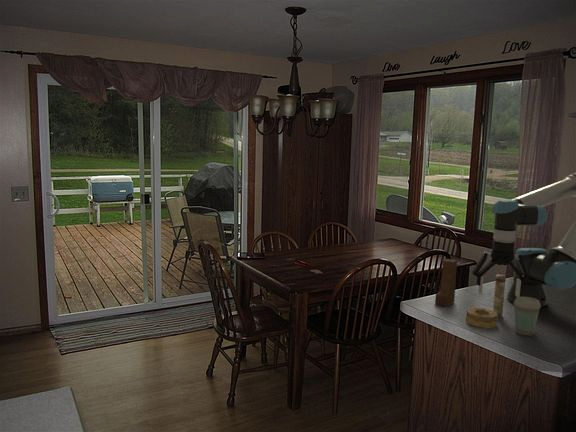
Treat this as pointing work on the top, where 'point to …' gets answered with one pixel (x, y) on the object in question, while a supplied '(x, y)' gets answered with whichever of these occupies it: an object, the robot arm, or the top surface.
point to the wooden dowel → (499, 294)
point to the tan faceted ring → (481, 317)
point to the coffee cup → (526, 315)
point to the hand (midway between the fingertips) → (498, 295)
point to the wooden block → (447, 283)
